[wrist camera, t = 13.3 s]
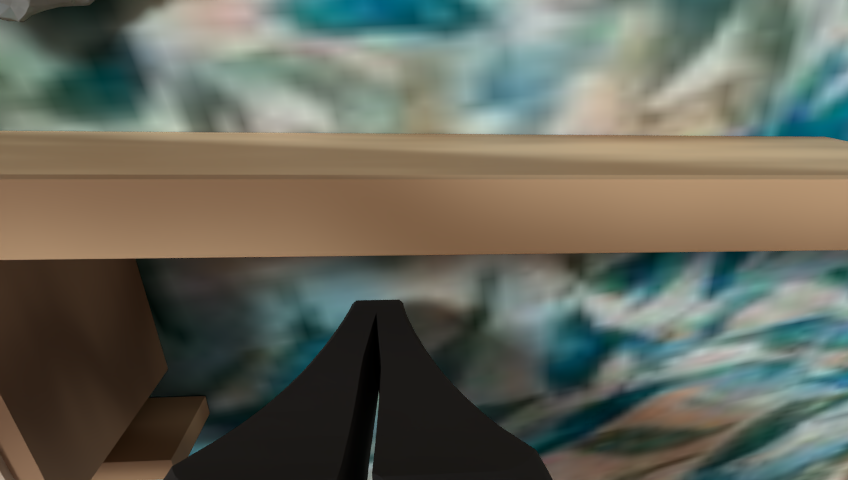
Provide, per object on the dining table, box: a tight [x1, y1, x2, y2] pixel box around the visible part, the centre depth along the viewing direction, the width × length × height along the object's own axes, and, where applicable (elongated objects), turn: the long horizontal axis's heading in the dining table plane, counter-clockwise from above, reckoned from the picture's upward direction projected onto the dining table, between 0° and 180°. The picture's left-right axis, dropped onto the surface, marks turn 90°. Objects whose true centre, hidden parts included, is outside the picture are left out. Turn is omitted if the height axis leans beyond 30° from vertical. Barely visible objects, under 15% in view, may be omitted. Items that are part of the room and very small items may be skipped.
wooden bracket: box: [0, 131, 848, 480], centre depth 11 cm, size 10×28×4 cm, turn 89°
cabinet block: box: [0, 258, 168, 480], centre depth 11 cm, size 6×4×5 cm, turn 179°
